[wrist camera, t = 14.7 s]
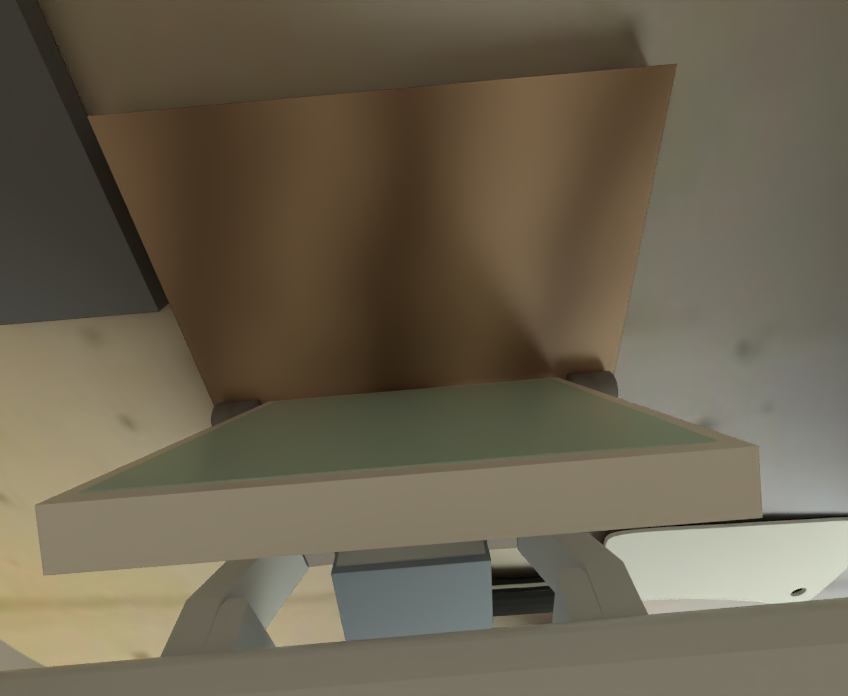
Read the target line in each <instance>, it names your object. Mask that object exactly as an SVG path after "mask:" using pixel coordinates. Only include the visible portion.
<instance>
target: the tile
mask: <svg viewBox="0 0 848 696" xmlns="http://www.w3.org/2000/svg"><path fill="white" fill-rule="evenodd" d="M35 511H36V519H37V527H38V535H39V543H40V551H41V559H42V567H43V575H56V574H68V573H81V572H93V571H106V570H118V569H131V568H143V567H156V566H168V565H181V564H193V563H206V562H218V561H230V560H243V559H255V558H268V557H280V556H293V555H305V554H318V553H330V552H343V551H355V550H368V549H380V548H393V547H405V546H417V545H430V544H442V543H455V542H467V541H480V540H492V539H505V538H517V537H530V536H542V535H555V534H567V533H580V532H592V531H605V530H617V529H629V528H642V527H654V526H667V525H679V524H692V523H704V522H717V521H729V520H742V519H754V518H762V502H761V482H760V463H759V446H757V445H754V444H751V443H748V442H745V441H742V440H739V439H736V438H733V437H730V436H727V435H725V434H722V433H719V432H716V431H713V430H710V429H707V428H704V427H701V426H698V425H695V424H692V423H689V422H687V421H684V420H681V419H678V418H675V417H672V416H669V415H666V414H663V413H660V412H657V411H654V410H652V409H649V408H646V407H643V406H640V405H637V404H634V403H631V402H628V401H625V400H622V399H619V398H617V397H614V396H611V395H608V394H605V393H602V392H599V391H596V390H593V389H590V388H587V387H584V386H582V385H579V384H576V383H573V382H570V381H567V380H564V379H561V378H558V377H557V378H545V379H533V380H521V381H509V382H497V383H485V384H473V385H460V386H448V387H436V388H424V389H412V390H400V391H388V392H376V393H364V394H352V395H340V396H328V397H316V398H304V399H292V400H280V401H269V402H267V403H264V404H262V405H260V406H258V407H255V408H253V409H251V410H249V411H246V412H244V413H242V414H240V415H237V416H235V417H233V418H231V419H228V420H226V421H224V422H222V423H219V424H217V425H215V426H213V427H210V428H208V429H206V430H203V431H201V432H199V433H197V434H194V435H192V436H190V437H188V438H185V439H183V440H181V441H179V442H176V443H174V444H172V445H170V446H167V447H165V448H163V449H161V450H158V451H156V452H154V453H152V454H149V455H147V456H145V457H143V458H140V459H138V460H136V461H133V462H131V463H129V464H127V465H124V466H122V467H120V468H118V469H115V470H113V471H111V472H109V473H106V474H104V475H102V476H100V477H97V478H95V479H93V480H91V481H88V482H86V483H84V484H82V485H79V486H77V487H75V488H73V489H70V490H68V491H66V492H63V493H61V494H59V495H57V496H54V497H52V498H50V499H48V500H45V501H43V502H41V503H39V504H36V505H35Z"/></svg>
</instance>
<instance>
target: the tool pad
mask: <svg viewBox="0 0 848 696" xmlns="http://www.w3.org/2000/svg"><path fill="white" fill-rule="evenodd" d="M168 304H169V301H168V299H167V297H166V295H165V292H164V290H163V288H162V286H161V283H160V281H159V279H158V276H157V274H156V272H155V270H154V267H153V265H152V263H151V261H150V258H149V256H148V254H147V251H146V249H145V247H144V245H143V242H142V240H141V238H140V236H139V233H138V231H137V229H136V226H135V224H134V222H133V220H132V217H131V215H130V213H129V210H128V208H127V206H126V204H125V201H124V199H123V197H122V195H121V192H120V190H119V188H118V185H117V183H116V181H115V179H114V176H113V174H112V172H111V170H110V167H109V165H108V163H107V160H106V158H105V156H104V154H103V151H102V149H101V147H100V144H99V142H98V140H97V138H96V135H95V133H94V131H93V129H92V126H91V124H90V122H89V119H88V117H87V114H86V112H85V110H84V108H83V105H82V103H81V101H80V98H79V96H78V94H77V92H76V89H75V87H74V85H73V82H72V80H71V78H70V76H69V73H68V71H67V69H66V67H65V64H64V62H63V60H62V57H61V55H60V53H59V51H58V48H57V46H56V44H55V42H54V39H53V37H52V35H51V32H50V30H49V28H48V26H47V23H46V21H45V19H44V16H43V14H42V12H41V10H40V7H39V5H38V3H37V1H36V0H0V325H7V324H19V323H31V322H43V321H55V320H66V319H78V318H90V317H102V316H113V315H125V314H137V313H149V312H159V311H160V310H161V309H163V308H164V307H165V306H166V305H168Z"/></svg>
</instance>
